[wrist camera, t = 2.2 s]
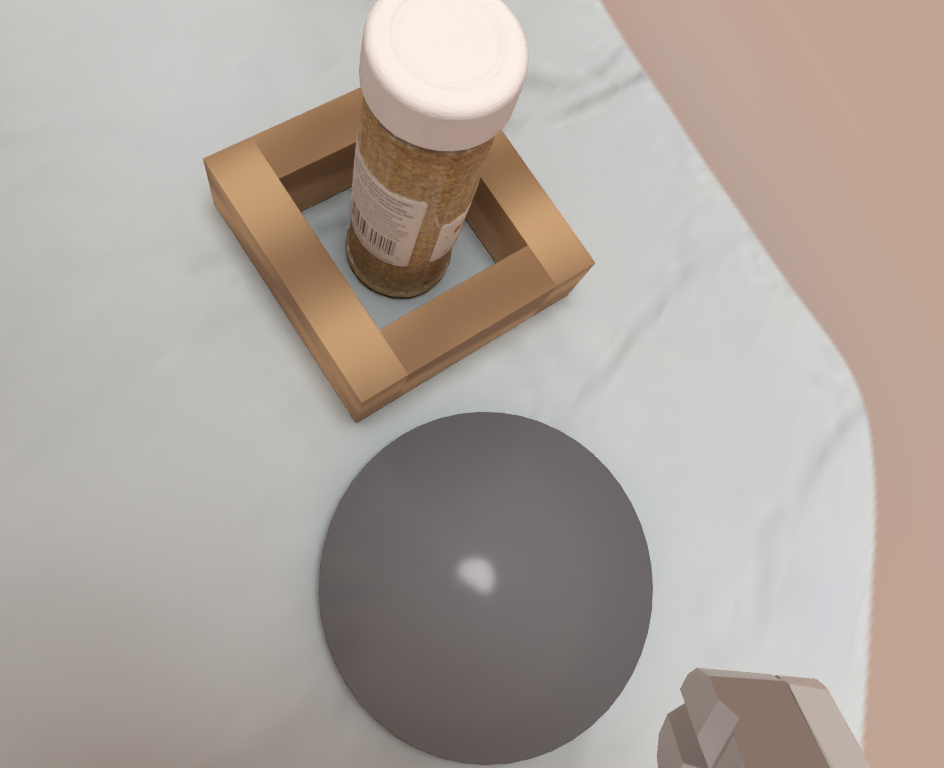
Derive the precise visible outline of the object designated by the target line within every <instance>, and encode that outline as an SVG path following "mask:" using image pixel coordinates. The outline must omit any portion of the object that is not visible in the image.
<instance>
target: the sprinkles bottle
mask: <svg viewBox="0 0 944 768" xmlns="http://www.w3.org/2000/svg"><path fill="white" fill-rule="evenodd" d="M527 68H528V48H527V43H526V38H525V35H524V33H523V30H522V28H521V26H520V24H519V22H518V20H517V19H516V17H515V16H514V14H513V13H512V12H511V11H510V9H509V8H508V7H507V6H506V5H505V4H504V3H503V2H502V1H501V0H377V1H376V2H375V3H374V5H373V7H372V8H371V10H370V12H369V14H368V17H367V20H366V22H365V26H364V31H363V39H362V46H361V54H360V68H359V76H360V85H361V89H362V95H363V100H362V108H361V117H360V122H359V125H358V130H357V138H356V149H355V159H354V169H353V181H352V193H351V206H350V212H351V224H350V228H349V229H348V232H347V237H346V253H347V258H348V261H349V263H350V265H351V268H352V269H353V271H354V272H355V273H356V275H357V277H358V278H359V279H360V280H361V281H362V282H363V283H364V284H366V285H367V286H368V287H370V288H371V289H373V290H374V291H376V292H379V293H381V294H384V295H388V296H392V297H413V296H416V295H419V294H421V293H423V292H425V291H427V290H429V289H430V288H431V287H432V286H434V285H435V284H436V283H437V282H438V281H440V279H441V278H442V277H443V275H444V274H445V272H446V269H447V267H448V265H449V262H450V257H451V250H452V247H453V245H454V243H455V242H456V240H457V238H458V236H459V233H460V231H461V228H462V225H463V223H464V220H465V218H466V215H467V212H468V210H469V207H470V205H471V202H472V199H473V197H474V194H475V192H476V189H477V186H478V183H479V180H480V177H481V174H482V169H483V167H484V164H485V161H486V159H487V156H488V153H489V151H490V149H491V146H492V144H493V141H494V138H495V135H496V134H497V133H498V132H499V131H500V130H501V129H502V128H503V127H504V126H505V125H506V123H507V122H508V120H509V118H510V116H511V114H512V112H513V110H514V107H515V105H516V102H517V100H518V97H519V95H520V92H521V89H522V86H523V83H524V80H525V77H526V73H527Z"/></svg>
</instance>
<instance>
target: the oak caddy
mask: <svg viewBox="0 0 944 768" xmlns="http://www.w3.org/2000/svg"><path fill="white" fill-rule="evenodd" d="M362 100H363V95H362V89H361V87H360V88H358V89H356V90H354V91H352V92H349V93H347V94H345V95H343V96H341V97H338V98H336V99H334V100H332V101H329V102H327V103H325V104H323V105H321V106H318V107H316V108H314V109H312V110H310V111H307V112H305V113H303V114H301V115H299V116H296V117H294V118H292V119H290V120H288V121H285V122H283V123H281V124H279V125H276V126H274V127H272V128H270V129H268V130H265V131H263V132H261V133H259V134H257V135H254V136H252V137H250V138H248V139H246V140H243V141H241V142H239V143H237V144H234V145H232V146H230V147H228V148H226V149H223V150H221V151H219V152H217V153H215V154H212V155H210V156H208V157H206V158H204V159H203V161H204V165H205V169H206V173H207V177H208V181H209V185H210V189H211V193H212V197H213V201H214V204H215V205H216V207H217V209H218V210H219V212H220V213H221V215H222V216H223V218H224V219H225V221H226V222H227V224H228V226H229V227H230V229H231V230H232V232H233V233H234V235H235V236H236V238H237V239H238V241H239V243H240V244H241V246H242V247H243V249H244V250H245V252H246V253H247V255H248V256H249V258H250V260H251V261H252V263H253V264H254V266H255V267H256V269H257V270H258V272H259V273H260V275H261V277H262V278H263V280H264V281H265V283H266V284H267V286H268V287H269V289H270V290H271V292H272V293H273V295H274V297H275V298H276V300H277V301H278V303H279V304H280V306H281V307H282V309H283V310H284V312H285V314H286V315H287V317H288V318H289V320H290V321H291V323H292V324H293V326H294V327H295V329H296V331H297V332H298V334H299V335H300V337H301V338H302V340H303V341H304V343H305V344H306V346H307V348H308V349H309V351H310V352H311V354H312V355H313V357H314V358H315V360H316V361H317V363H318V365H319V366H320V368H321V369H322V371H323V372H324V374H325V375H326V377H327V378H328V380H329V382H330V383H331V385H332V386H333V388H334V389H335V391H336V392H337V394H338V395H339V397H340V398H341V400H342V402H343V403H344V405H345V406H346V408H347V409H348V411H349V412H350V414H351V415H352V417H353V419H354V420H355V422H356V423H357V422H359V421H361V420H362V419H364V418H366V417H367V416H369V415H371V414H372V413H374V412H375V411H377V410H379V409H380V408H382V407H384V406H385V405H387V404H389V403H390V402H392V401H394V400H395V399H397V398H399V397H400V396H402V395H403V394H405V393H407V392H408V391H410V390H412V389H413V388H415V387H417V386H418V385H420V384H422V383H423V382H425V381H427V380H428V379H430V378H431V377H433V376H435V375H436V374H438V373H440V372H441V371H443V370H445V369H446V368H448V367H450V366H451V365H453V364H454V363H456V362H458V361H459V360H461V359H463V358H464V357H466V356H468V355H469V354H471V353H473V352H474V351H476V350H478V349H479V348H481V347H482V346H484V345H486V344H487V343H489V342H491V341H492V340H494V339H496V338H497V337H499V336H501V335H502V334H504V333H506V332H507V331H509V330H510V329H512V328H514V327H515V326H517V325H519V324H520V323H522V322H524V321H525V320H527V319H529V318H530V317H532V316H534V315H535V314H537V313H538V312H540V311H542V310H543V309H545V308H547V307H548V306H550V305H552V304H553V303H555V302H557V301H558V300H560V299H562V298H563V297H565V296H566V295H568V294H569V293H570V292H571V290H572V289H573V288H574V287H575V286H576V285H577V283H578V282H579V281H580V280H581V279H582V278H583V277H584V275H585V274H586V273H587V272H588V271H589V270H590V268H591V267H592V266H593V265H594V264H595V262H594V260H593V259H592V257H591V256H590V255H589V253H588V252H587V250H586V249H585V248H584V246H583V245H582V243H581V242H580V240H579V239H578V238H577V236H576V235H575V233H574V232H573V231H572V229H571V228H570V226H569V225H568V224H567V222H566V221H565V219H564V218H563V216H562V215H561V214H560V212H559V211H558V209H557V208H556V207H555V205H554V204H553V202H552V201H551V199H550V198H549V197H548V195H547V194H546V192H545V191H544V190H543V188H542V187H541V185H540V184H539V182H538V181H537V180H536V178H535V177H534V175H533V174H532V173H531V171H530V170H529V168H528V167H527V165H526V164H525V163H524V161H523V160H522V158H521V157H520V156H519V154H518V153H517V151H516V150H515V148H514V147H513V146H512V144H511V143H510V141H509V140H508V139H507V137H506V136H505V134H504V133H503V131H502V130H500V131H499V132H498V133H497V134H496V135H495V138H494V141H493V144H492V146H491V149H490V151H489V153H488V156H487V159H486V161H485V164H484V167H483V169H482V174H481V177H480V180H479V183H478V186H477V189H476V192H475V194H474V197H473V199H472V202H471V205H470V207H469V210H468V212H467V215H466V218H465V219H466V220H467V222H468V223H469V225H470V226H471V228H472V229H473V231H474V232H475V233H476V235H477V236H478V238H479V239H480V241H481V242H482V244H483V245H484V246H485V248H486V249H487V251H488V252H489V254H490V255H491V257H492V258H493V260H494V261H495V262H496V264H494V265H492V266H491V267H489V268H487V269H485V270H484V271H482V272H480V273H478V274H476V275H475V276H473V277H471V278H469V279H468V280H466V281H464V282H462V283H461V284H459V285H457V286H455V287H454V288H452V289H450V290H448V291H447V292H445V293H443V294H441V295H440V296H438V297H436V298H434V299H433V300H431V301H429V302H427V303H426V304H424V305H422V306H420V307H419V308H417V309H415V310H413V311H412V312H410V313H408V314H406V315H405V316H403V317H401V318H399V319H398V320H396V321H394V322H392V323H391V324H389V325H387V326H385V327H384V328H382V329H380V330H378V328H377V327H376V325H375V324H374V322H373V321H372V319H371V318H370V316H369V315H368V313H367V312H366V310H365V309H364V307H363V305H362V304H361V302H360V301H359V299H358V298H357V296H356V295H355V293H354V292H353V290H352V289H351V287H350V286H349V284H348V283H347V281H346V280H345V278H344V277H343V275H342V274H341V272H340V271H339V269H338V268H337V266H336V265H335V263H334V262H333V260H332V259H331V257H330V256H329V254H328V253H327V251H326V250H325V248H324V247H323V245H322V244H321V242H320V241H319V239H318V237H317V236H316V234H315V233H314V231H313V230H312V228H311V227H310V225H309V224H308V222H307V221H306V219H305V218H304V216H303V215H302V213H301V211H303V210H305V209H307V208H309V207H311V206H313V205H315V204H317V203H319V202H321V201H323V200H325V199H327V198H329V197H331V196H333V195H335V194H337V193H339V192H341V191H343V190H345V189H347V188H349V187H351V186H352V181H353V169H354V159H355V149H356V138H357V130H358V125H359V122H360V117H361V108H362Z"/></svg>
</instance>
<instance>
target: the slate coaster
mask: <svg viewBox="0 0 944 768" xmlns="http://www.w3.org/2000/svg"><path fill="white" fill-rule="evenodd" d="M652 593H653V584H652V570H651V562H650V557H649V552H648V546H647V542H646V539H645V536H644V533H643V530H642V526H641V523H640V521H639V519H638V517H637V514H636V512H635V510H634V508H633V506H632V503H631V502H630V500H629V499H628V497H627V495H626V494H625V492H624V490H623V489H622V487H621V485H620V484H619V483H618V481H617V480H616V479H615V478H614V476H613V475H612V474H611V472H610V471H609V470H608V469H607V468H606V467H605V466H604V465H603V464H602V463H601V462H600V461H599V460H598V459H597V458H596V457H595V455H594V454H592V453H591V452H590V451H589V450H587V449H586V448H585V447H584V446H582V445H581V444H580V443H578V442H577V441H576V440H574V439H572V438H571V437H569V436H567V435H566V434H564V433H562V432H561V431H559V430H557V429H555V428H553V427H550V426H548V425H546V424H544V423H541V422H538V421H535V420H532V419H529V418H525V417H522V416H517V415H511V414H505V413H492V412H475V413H465V414H457V415H453V416H449V417H445V418H440V419H437V420H434V421H432V422H429V423H427V424H424V425H421V426H419V427H417V428H415V429H413V430H411V431H409V432H408V433H406V434H404V435H402V436H400V437H399V438H397V439H396V440H395V441H393V442H392V443H391V444H389V445H388V446H386V447H385V448H384V449H382V450H381V451H380V452H379V453H378V454H377V455H376V456H375V457H374V458H373V459H372V460H371V461H370V462H369V463H368V464H367V465H366V466H365V467H364V468H363V469H362V471H361V472H360V473H359V474H358V476H357V477H356V478H355V479H354V481H353V482H352V483H351V485H350V487H349V488H348V490H347V492H346V493H345V495H344V496H343V498H342V500H341V501H340V504H339V506H338V508H337V510H336V512H335V515H334V517H333V519H332V521H331V524H330V528H329V531H328V534H327V537H326V541H325V544H324V549H323V554H322V560H321V566H320V585H319V595H320V606H321V616H322V620H323V625H324V629H325V634H326V638H327V641H328V644H329V646H330V649H331V652H332V655H333V657H334V660H335V663H336V665H337V667H338V668H339V670H340V672H341V674H342V676H343V678H344V680H345V682H346V684H347V685H348V686H349V688H350V689H351V691H352V692H353V693H354V695H355V696H356V698H357V699H358V700H359V702H360V703H361V704H362V706H363V707H364V708H365V709H366V710H367V711H368V712H369V713H370V714H371V715H372V716H373V717H374V718H375V719H376V720H377V721H378V722H379V723H380V724H381V725H383V726H384V727H385V728H387V729H388V730H389V731H390V732H392V733H393V734H394V735H395V736H397V737H398V738H400V739H402V740H404V741H405V742H407V743H409V744H410V745H412V746H414V747H416V748H417V749H420V750H422V751H425V752H427V753H430V754H432V755H435V756H437V757H440V758H444V759H448V760H453V761H457V762H461V763H470V764H482V765H490V764H508V763H513V762H518V761H522V760H527V759H531V758H534V757H537V756H540V755H542V754H545V753H548V752H551V751H553V750H555V749H557V748H559V747H560V746H562V745H564V744H566V743H568V742H570V741H572V740H573V739H574V738H576V737H577V736H579V735H580V734H581V733H583V732H584V731H585V730H587V729H588V728H590V727H591V726H592V725H593V724H594V723H595V722H596V721H597V720H598V719H599V718H600V717H601V716H602V715H603V714H604V713H605V712H606V711H607V710H608V709H609V708H610V706H611V705H612V704H613V703H614V701H615V700H616V699H617V698H618V696H619V695H620V694H621V692H622V691H623V689H624V687H625V686H626V684H627V682H628V681H629V679H630V677H631V676H632V674H633V672H634V669H635V667H636V665H637V663H638V660H639V658H640V656H641V653H642V650H643V647H644V643H645V640H646V637H647V633H648V629H649V623H650V617H651V611H652Z"/></svg>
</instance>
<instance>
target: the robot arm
mask: <svg viewBox="0 0 944 768" xmlns="http://www.w3.org/2000/svg"><path fill="white" fill-rule="evenodd" d="M680 690H681V693H682V696H683V699H684V702H685V703H684V704H683V705H681V706H680V707H678V708H676V709H675V710H673V711H672V712H670V713H669V714H667V717H666V719H665V721H664V723H663V726H662V728H661V730H660V733H659V740H658V751H657V761H658V768H871V766H870V764H869V762H868V760H867V759H866V757H865V755H864V753H863V752H862V750H861V748H860V746H859V744H858V743H857V741H856V739H855V737H854V735H853V734H852V732H851V730H850V728H849V727H848V725H847V723H846V721H845V719H844V718H843V716H842V714H841V712H840V711H839V709H838V707H837V705H836V703H835V702H834V700H833V698H832V696H831V695H830V693H829V691H828V690H827V688H826V687H825V686H824V685H823V684H822V683H820V682H819V681H818V680H817V679H810V678H799V677H789V676H778V675H777V676H773V675H770V674H761V673H750V672H738V671H727V670H716V669H704V668H696V669H694V670H693V671H692V672H690V673H689V674H688V675H687V677H686V678H685V680H684V682H683V684H682V686H681V688H680Z"/></svg>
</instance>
